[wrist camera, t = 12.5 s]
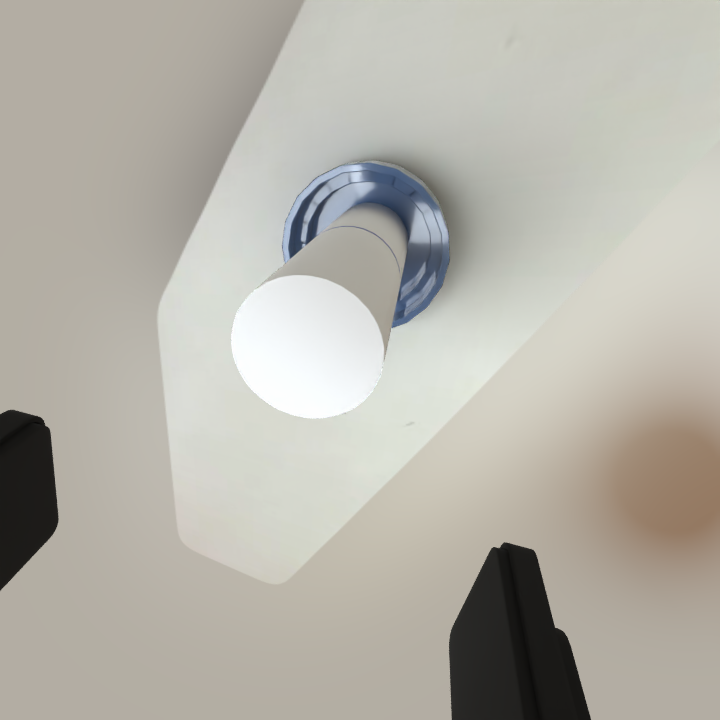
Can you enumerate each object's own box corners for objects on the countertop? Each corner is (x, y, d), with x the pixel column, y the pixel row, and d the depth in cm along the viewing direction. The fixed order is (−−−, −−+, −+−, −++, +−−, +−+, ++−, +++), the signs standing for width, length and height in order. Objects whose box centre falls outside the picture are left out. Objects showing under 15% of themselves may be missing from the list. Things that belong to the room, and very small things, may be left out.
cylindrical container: (397, 192, 42) (359, 256, 19) (416, 269, 44) (401, 404, 22) (322, 214, 43) (206, 296, 21) (344, 287, 46) (263, 429, 24)
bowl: (310, 143, 42) (295, 144, 37) (467, 181, 41) (471, 186, 37) (287, 294, 48) (273, 310, 43) (424, 328, 47) (423, 348, 43)
